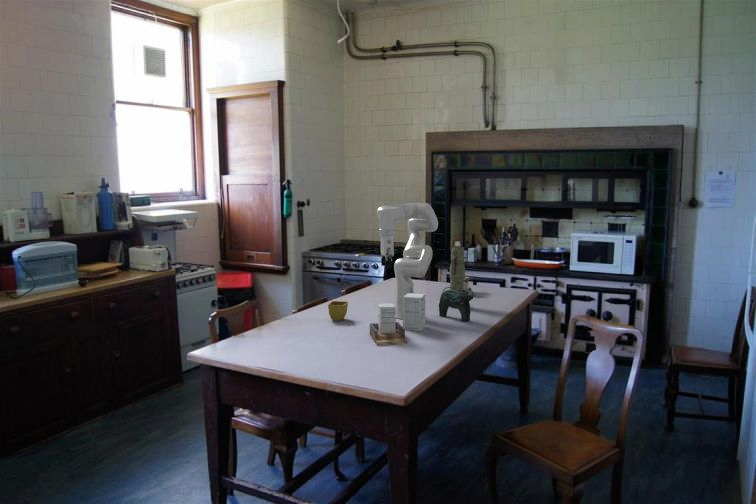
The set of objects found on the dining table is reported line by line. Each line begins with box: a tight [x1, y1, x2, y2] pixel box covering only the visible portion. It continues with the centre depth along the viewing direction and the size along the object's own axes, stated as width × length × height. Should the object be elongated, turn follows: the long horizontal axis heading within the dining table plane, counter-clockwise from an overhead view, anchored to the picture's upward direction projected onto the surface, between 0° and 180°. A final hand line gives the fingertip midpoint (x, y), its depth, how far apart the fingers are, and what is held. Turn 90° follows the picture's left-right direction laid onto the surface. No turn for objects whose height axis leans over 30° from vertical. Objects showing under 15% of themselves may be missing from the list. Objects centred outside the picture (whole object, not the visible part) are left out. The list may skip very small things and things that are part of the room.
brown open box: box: [369, 321, 408, 347], centre depth 273 cm, size 14×18×6 cm
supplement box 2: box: [402, 293, 426, 332], centre depth 291 cm, size 10×9×17 cm
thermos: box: [449, 245, 466, 309], centre depth 336 cm, size 9×12×35 cm
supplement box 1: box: [377, 302, 397, 333], centre depth 275 cm, size 7×7×13 cm
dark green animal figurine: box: [438, 282, 475, 322], centre depth 310 cm, size 20×6×20 cm, turn 47°
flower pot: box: [327, 300, 349, 322], centre depth 308 cm, size 9×9×9 cm
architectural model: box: [464, 275, 474, 289], centre depth 374 cm, size 35×28×14 cm
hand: (386, 267), depth 291 cm, fingers open, 9 cm apart
